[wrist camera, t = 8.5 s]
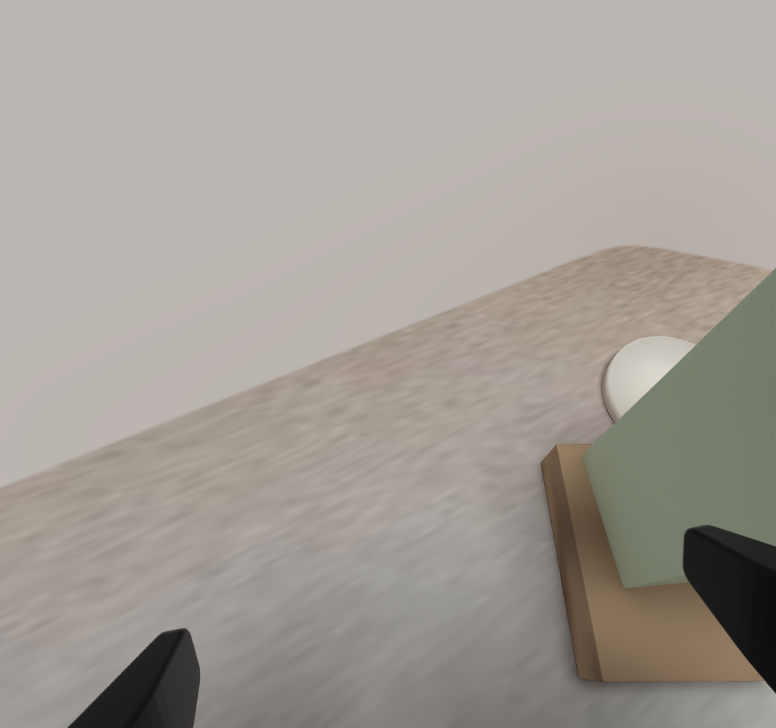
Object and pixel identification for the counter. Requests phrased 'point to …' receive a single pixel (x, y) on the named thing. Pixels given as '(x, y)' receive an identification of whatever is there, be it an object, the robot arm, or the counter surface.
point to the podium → (627, 599)
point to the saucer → (639, 370)
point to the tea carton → (694, 449)
